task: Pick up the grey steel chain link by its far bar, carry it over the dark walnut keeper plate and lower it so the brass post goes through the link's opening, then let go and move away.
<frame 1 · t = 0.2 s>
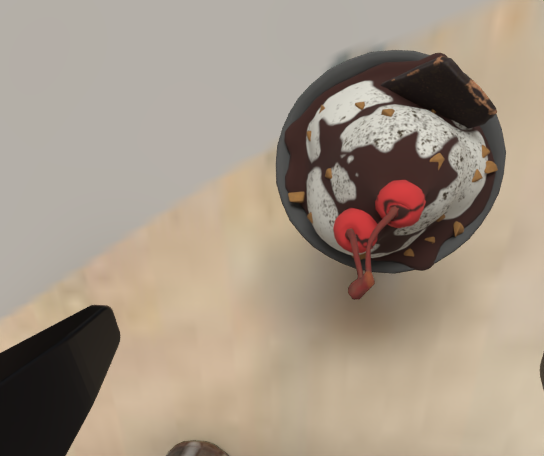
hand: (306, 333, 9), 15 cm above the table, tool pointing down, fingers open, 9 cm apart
sundae: (379, 148, 22), on the table
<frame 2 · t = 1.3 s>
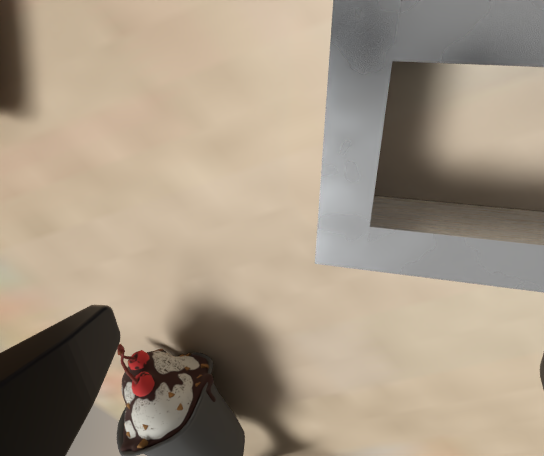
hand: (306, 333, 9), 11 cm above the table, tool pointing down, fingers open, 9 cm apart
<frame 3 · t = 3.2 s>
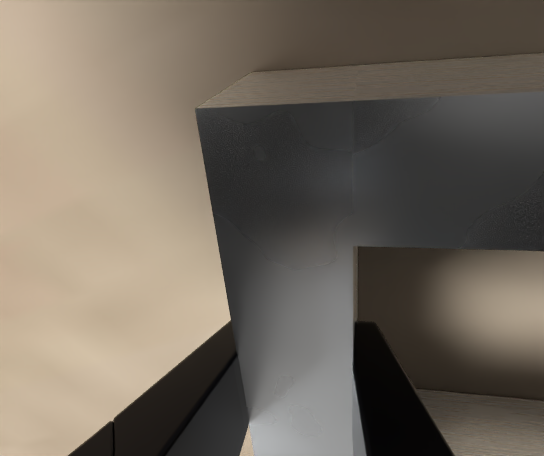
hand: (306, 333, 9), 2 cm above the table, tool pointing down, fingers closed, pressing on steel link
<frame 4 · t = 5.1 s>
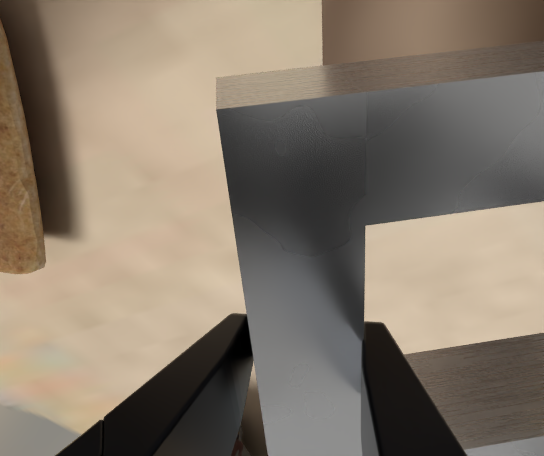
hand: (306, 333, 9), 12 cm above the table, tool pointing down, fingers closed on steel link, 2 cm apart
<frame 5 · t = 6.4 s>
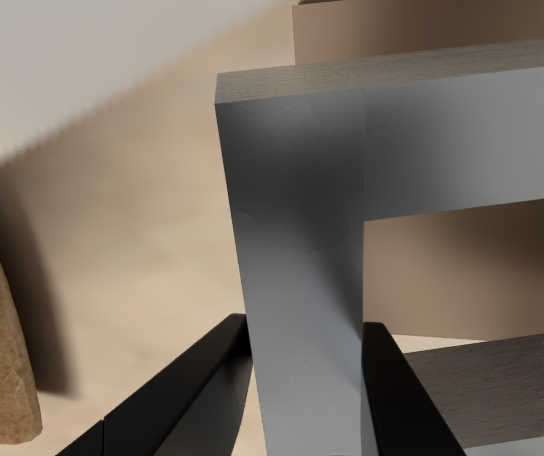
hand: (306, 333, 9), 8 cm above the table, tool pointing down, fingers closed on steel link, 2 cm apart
when the fingers open (4 cm above the table, at t = 7.2 s): steel link stays where it is, resting on keeper plate.
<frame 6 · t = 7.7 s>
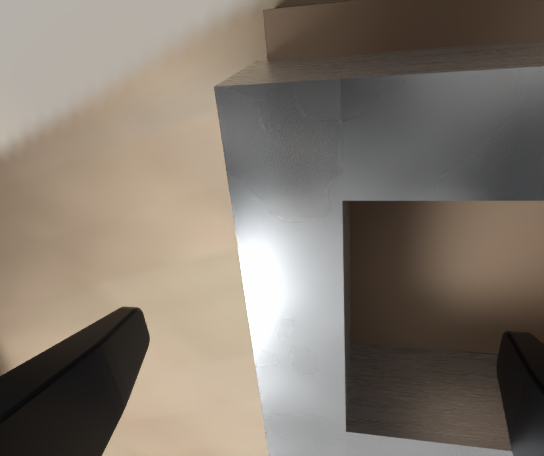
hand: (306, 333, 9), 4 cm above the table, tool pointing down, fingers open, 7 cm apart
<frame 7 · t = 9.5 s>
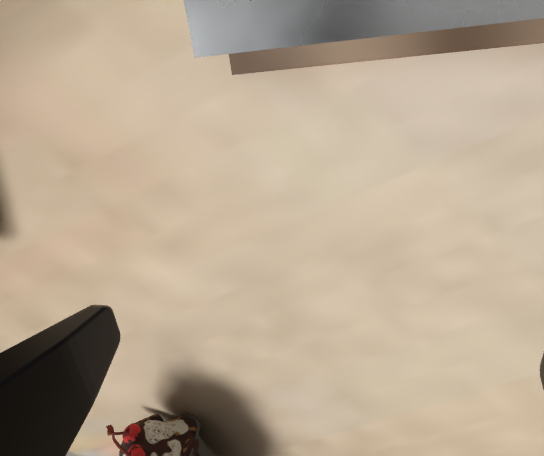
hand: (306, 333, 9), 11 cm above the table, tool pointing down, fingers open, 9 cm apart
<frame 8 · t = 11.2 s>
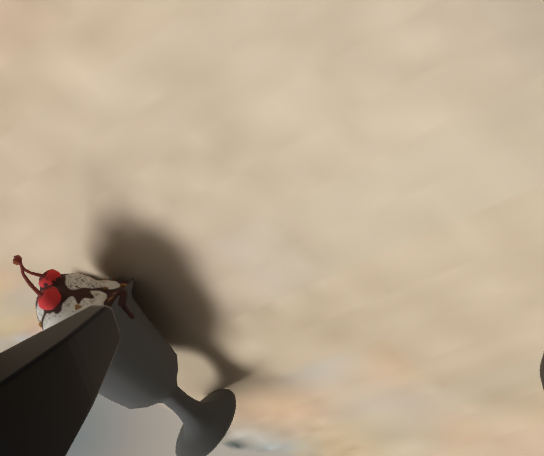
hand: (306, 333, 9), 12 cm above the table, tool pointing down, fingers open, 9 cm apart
sundae: (209, 426, 27), point 2 cm above the table
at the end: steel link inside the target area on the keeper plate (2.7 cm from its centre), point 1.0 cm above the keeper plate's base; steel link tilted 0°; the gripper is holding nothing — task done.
